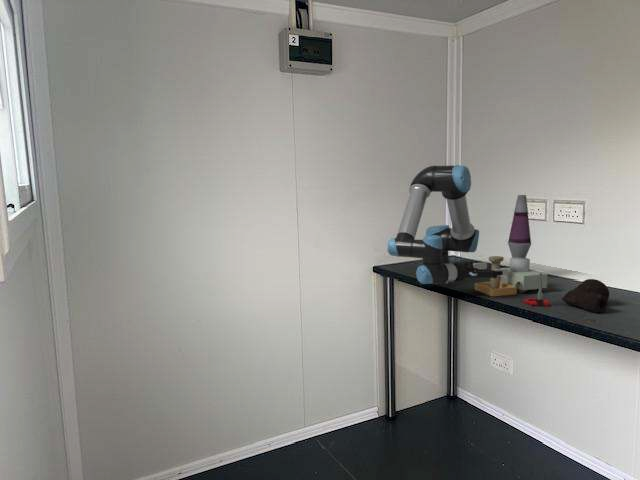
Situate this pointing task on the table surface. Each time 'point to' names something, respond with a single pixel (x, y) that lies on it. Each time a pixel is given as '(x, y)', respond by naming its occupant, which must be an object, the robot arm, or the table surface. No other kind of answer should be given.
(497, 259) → the handle
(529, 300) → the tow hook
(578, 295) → the dark brown irregular lump
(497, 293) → the grey and tan pieces
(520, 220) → the lamp
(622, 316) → the table surface
